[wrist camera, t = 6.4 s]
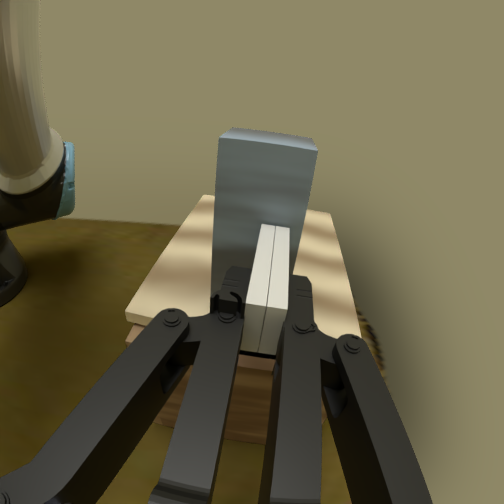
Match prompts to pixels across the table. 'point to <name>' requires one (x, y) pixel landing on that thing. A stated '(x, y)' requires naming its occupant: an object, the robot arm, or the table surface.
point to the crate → (232, 398)
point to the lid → (252, 233)
